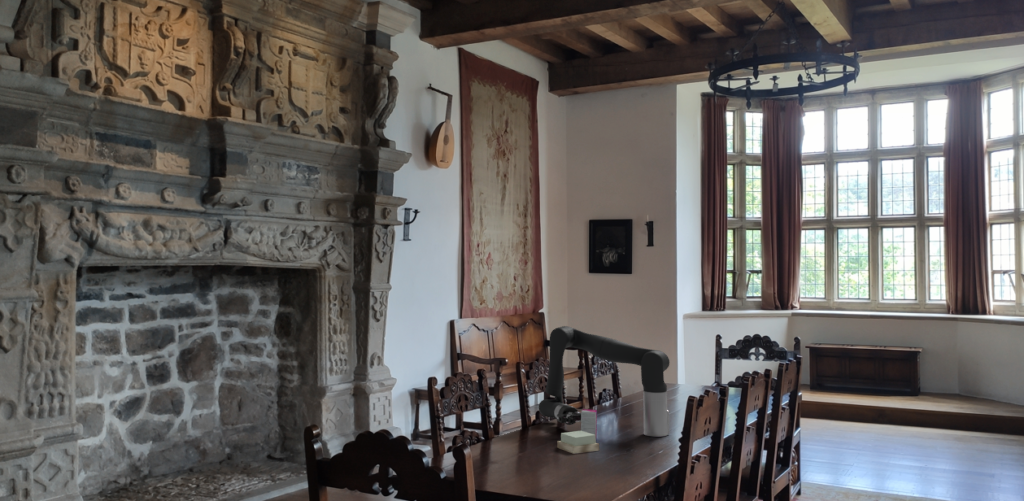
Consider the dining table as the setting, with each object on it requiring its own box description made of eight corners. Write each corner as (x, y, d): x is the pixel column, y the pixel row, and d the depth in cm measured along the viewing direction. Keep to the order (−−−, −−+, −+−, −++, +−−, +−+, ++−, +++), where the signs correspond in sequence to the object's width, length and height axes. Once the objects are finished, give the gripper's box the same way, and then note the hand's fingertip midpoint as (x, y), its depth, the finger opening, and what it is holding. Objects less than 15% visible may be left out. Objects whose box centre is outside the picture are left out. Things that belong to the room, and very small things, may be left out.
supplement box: (595, 442, 293) (595, 411, 293) (580, 441, 294) (580, 411, 295) (597, 439, 299) (597, 409, 299) (582, 438, 300) (581, 408, 300)
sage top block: (580, 438, 287) (580, 430, 287) (595, 443, 280) (595, 434, 280) (561, 441, 283) (561, 433, 283) (575, 446, 275) (575, 437, 275)
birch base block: (582, 446, 288) (582, 438, 289) (599, 452, 279) (599, 443, 279) (557, 449, 283) (557, 441, 283) (573, 455, 274) (573, 446, 274)
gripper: (550, 405, 315) (566, 412, 300) (581, 403, 320) (599, 410, 304) (550, 424, 315) (566, 431, 299) (582, 422, 319) (599, 429, 304)
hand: (582, 420), depth 302 cm, fingers open, 8 cm apart
